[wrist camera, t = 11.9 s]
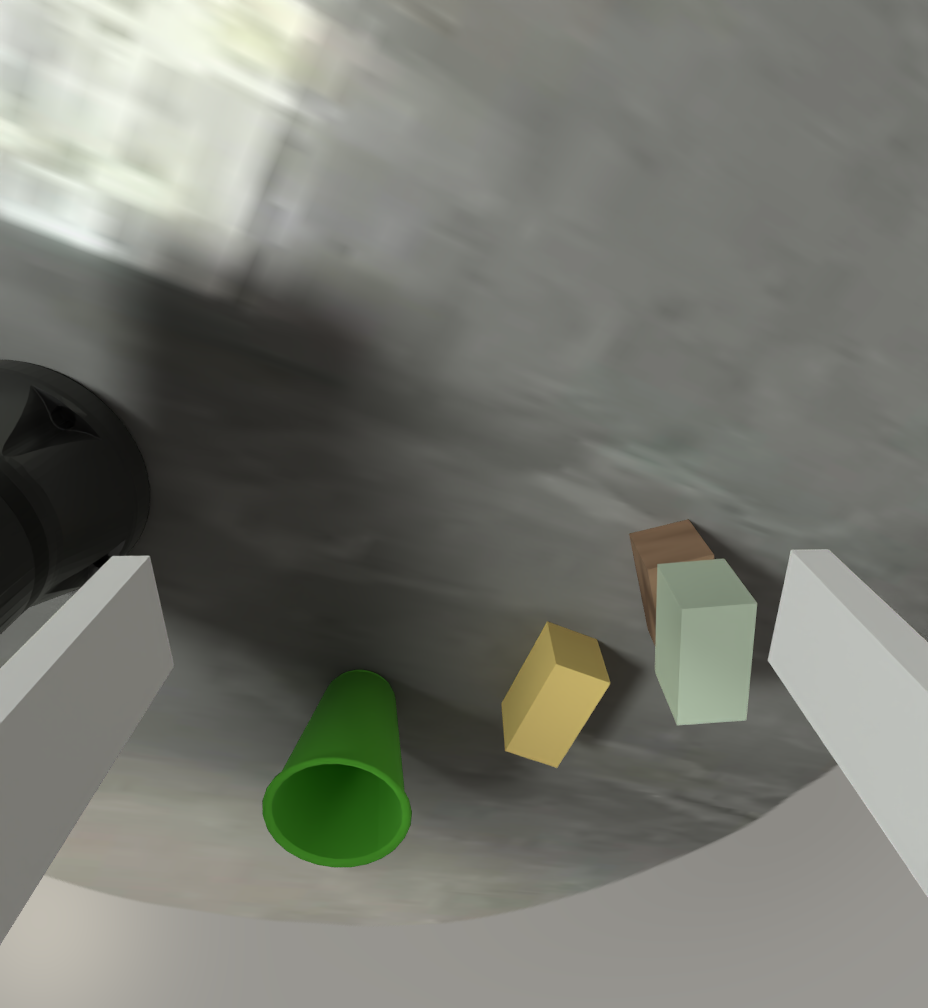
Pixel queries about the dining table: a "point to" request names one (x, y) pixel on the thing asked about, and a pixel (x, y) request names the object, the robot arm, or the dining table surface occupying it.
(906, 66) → the dining table surface
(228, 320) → the dining table surface
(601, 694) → the mustard brick
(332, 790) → the cup
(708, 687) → the sage brick
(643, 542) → the walnut brick
